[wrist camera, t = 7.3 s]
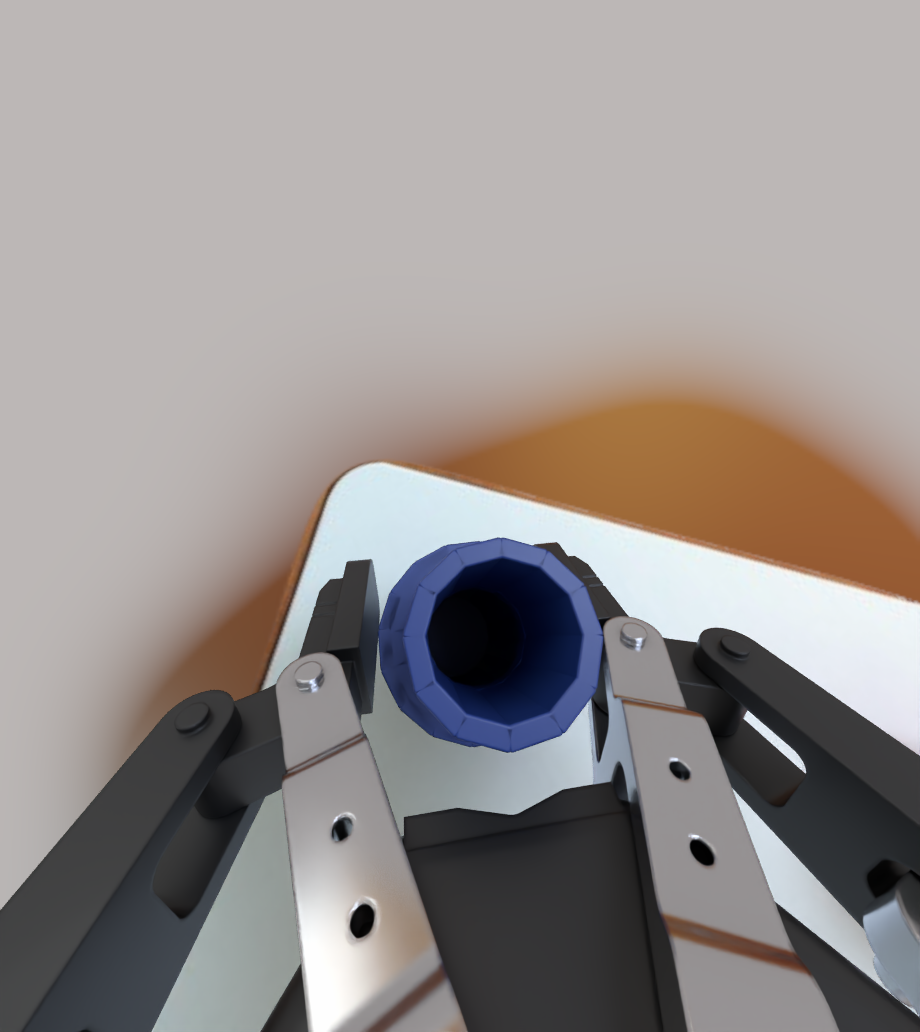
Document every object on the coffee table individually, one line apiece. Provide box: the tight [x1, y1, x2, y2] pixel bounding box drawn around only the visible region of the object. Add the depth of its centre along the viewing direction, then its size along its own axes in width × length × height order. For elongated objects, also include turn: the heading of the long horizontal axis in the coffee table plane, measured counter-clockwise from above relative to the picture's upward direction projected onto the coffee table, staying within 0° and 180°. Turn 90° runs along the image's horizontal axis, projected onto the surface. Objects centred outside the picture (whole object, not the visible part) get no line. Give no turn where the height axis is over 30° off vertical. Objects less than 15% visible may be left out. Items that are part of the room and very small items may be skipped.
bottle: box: [378, 538, 603, 753], centre depth 11 cm, size 4×4×13 cm
